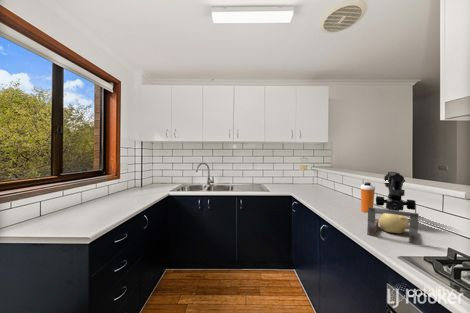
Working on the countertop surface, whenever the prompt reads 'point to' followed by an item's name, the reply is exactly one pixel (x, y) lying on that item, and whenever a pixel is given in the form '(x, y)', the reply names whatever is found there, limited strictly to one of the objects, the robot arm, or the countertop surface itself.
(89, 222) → the countertop surface
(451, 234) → the countertop surface
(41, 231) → the countertop surface
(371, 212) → the channel
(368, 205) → the shaker bottle
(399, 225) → the pale yellow round lump
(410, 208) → the robot arm
